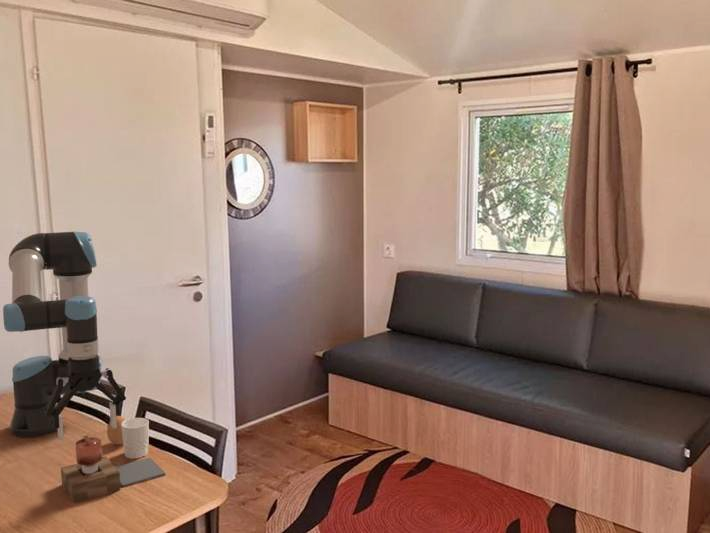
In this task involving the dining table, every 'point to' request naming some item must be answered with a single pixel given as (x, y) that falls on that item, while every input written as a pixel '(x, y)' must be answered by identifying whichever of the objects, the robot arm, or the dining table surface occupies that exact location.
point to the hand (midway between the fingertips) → (87, 432)
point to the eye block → (90, 481)
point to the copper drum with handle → (89, 454)
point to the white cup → (135, 437)
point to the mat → (139, 471)
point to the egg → (116, 431)
